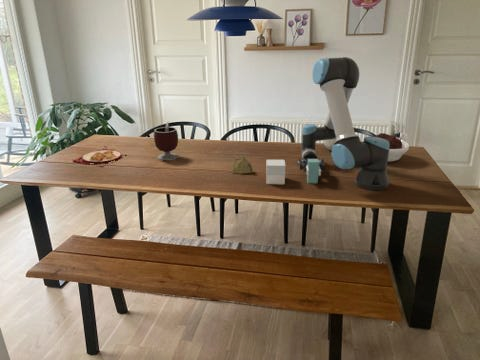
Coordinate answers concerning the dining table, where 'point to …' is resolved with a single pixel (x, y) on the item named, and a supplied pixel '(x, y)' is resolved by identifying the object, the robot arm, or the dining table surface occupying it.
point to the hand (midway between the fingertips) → (313, 172)
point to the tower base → (275, 179)
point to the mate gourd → (166, 141)
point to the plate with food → (99, 156)
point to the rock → (241, 165)
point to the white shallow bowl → (394, 146)
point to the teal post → (313, 170)
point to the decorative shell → (329, 144)
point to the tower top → (275, 167)
